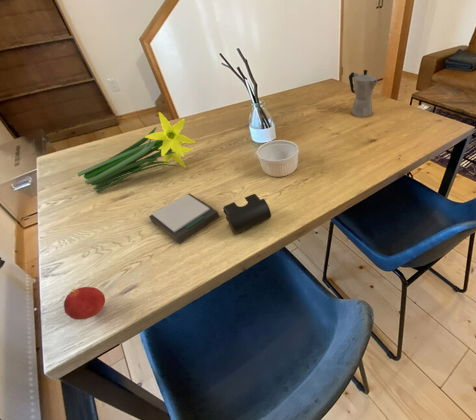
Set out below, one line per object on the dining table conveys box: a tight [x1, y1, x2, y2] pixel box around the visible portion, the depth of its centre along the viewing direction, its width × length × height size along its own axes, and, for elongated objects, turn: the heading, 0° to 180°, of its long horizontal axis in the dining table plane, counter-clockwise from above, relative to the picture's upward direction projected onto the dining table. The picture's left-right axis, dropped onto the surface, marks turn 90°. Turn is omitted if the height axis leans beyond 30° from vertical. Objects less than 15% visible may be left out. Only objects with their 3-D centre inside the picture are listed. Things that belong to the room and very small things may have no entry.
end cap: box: [222, 193, 272, 235], centre depth 70 cm, size 10×7×7 cm
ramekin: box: [256, 139, 300, 178], centre depth 90 cm, size 13×13×7 cm
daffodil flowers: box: [77, 111, 196, 194], centre depth 85 cm, size 17×15×35 cm
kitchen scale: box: [148, 193, 220, 245], centre depth 73 cm, size 12×13×3 cm
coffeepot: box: [348, 69, 379, 118], centre depth 118 cm, size 15×9×18 cm, turn 43°
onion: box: [63, 286, 106, 320], centre depth 52 cm, size 6×6×8 cm
